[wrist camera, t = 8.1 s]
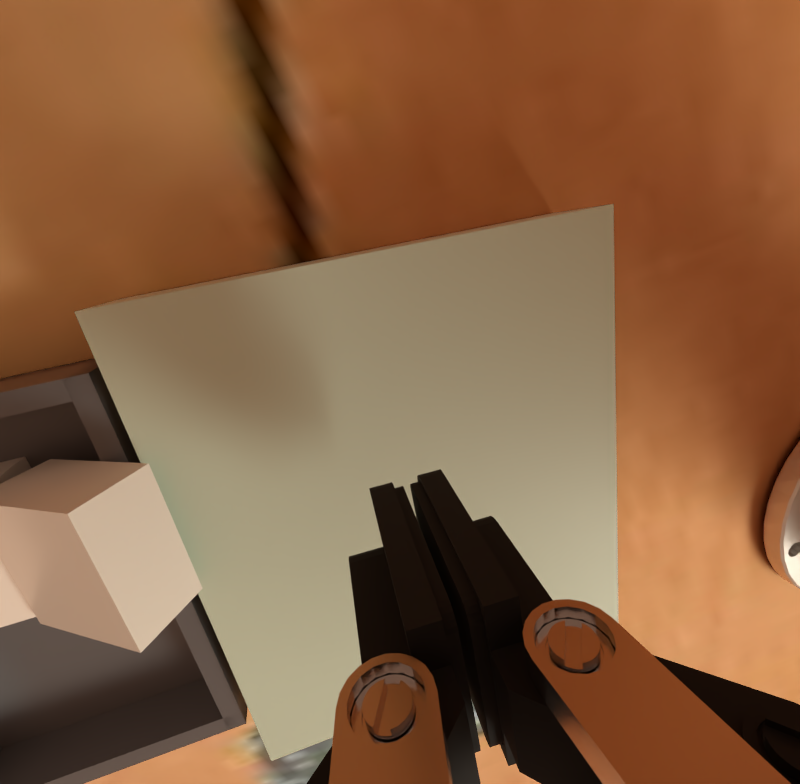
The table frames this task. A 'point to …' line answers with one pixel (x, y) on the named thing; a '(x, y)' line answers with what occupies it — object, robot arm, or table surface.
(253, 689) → the beige flat slab
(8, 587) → the tile rear
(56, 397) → the box
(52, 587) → the tile front
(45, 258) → the table surface
